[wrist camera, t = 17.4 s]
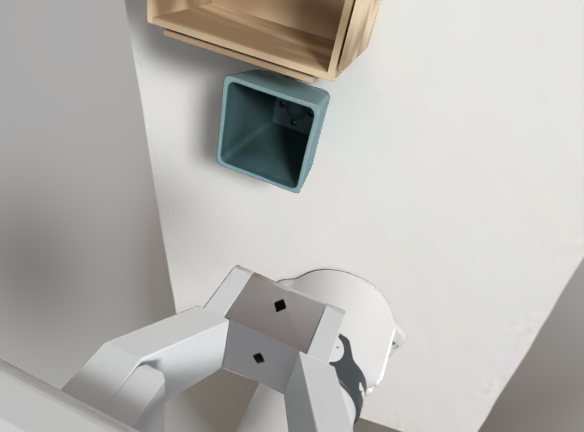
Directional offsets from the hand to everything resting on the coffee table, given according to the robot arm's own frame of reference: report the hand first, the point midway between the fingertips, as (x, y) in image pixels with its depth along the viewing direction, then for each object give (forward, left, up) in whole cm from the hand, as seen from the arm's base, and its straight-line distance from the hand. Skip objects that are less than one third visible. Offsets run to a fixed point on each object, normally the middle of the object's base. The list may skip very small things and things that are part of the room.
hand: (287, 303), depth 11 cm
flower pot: (-9, +10, -33) cm, 36 cm away
